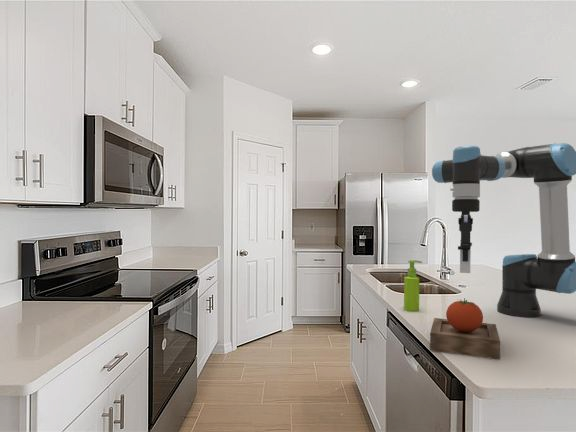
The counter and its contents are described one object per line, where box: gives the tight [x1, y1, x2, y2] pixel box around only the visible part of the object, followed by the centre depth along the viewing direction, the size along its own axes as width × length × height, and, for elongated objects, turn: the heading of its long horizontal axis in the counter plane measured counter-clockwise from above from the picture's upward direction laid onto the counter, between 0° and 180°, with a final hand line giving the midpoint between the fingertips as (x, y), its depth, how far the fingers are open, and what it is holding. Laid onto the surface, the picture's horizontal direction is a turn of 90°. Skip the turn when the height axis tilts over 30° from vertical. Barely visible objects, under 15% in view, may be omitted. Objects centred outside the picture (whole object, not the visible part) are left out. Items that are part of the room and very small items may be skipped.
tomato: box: [445, 298, 484, 332], centre depth 123 cm, size 10×10×10 cm
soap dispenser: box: [403, 259, 423, 312], centre depth 166 cm, size 6×7×20 cm
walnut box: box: [429, 317, 501, 360], centre depth 123 cm, size 18×18×5 cm
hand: (464, 269), depth 123 cm, fingers open, 13 cm apart
